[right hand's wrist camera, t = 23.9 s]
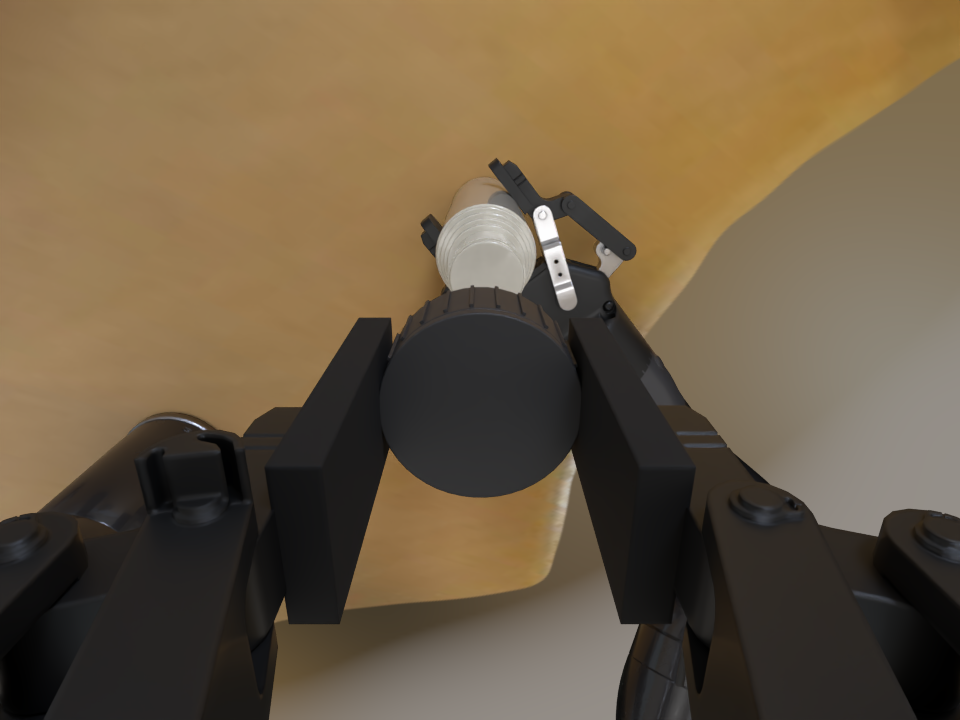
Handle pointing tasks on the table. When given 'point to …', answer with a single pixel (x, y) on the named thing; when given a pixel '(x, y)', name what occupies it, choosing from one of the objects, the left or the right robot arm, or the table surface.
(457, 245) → the bottle
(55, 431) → the table surface
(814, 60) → the table surface
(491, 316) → the cap
